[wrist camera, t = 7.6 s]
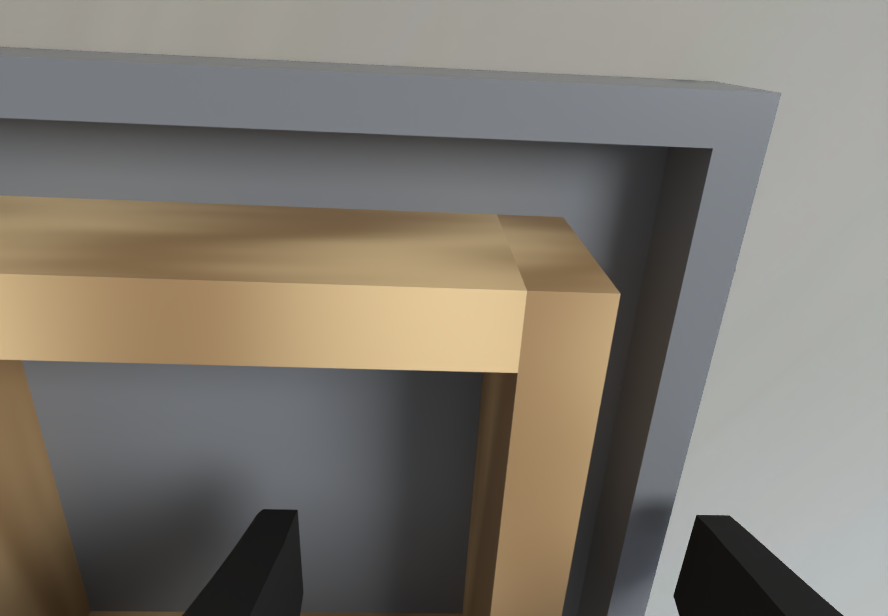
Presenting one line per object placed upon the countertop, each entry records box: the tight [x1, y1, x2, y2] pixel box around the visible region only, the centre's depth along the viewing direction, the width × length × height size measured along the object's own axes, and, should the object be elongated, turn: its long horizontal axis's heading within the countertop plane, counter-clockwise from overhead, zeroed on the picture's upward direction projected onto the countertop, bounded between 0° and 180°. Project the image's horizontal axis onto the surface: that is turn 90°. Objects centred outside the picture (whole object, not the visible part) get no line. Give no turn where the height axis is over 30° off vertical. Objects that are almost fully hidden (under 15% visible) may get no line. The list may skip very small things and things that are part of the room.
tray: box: [0, 47, 781, 616], centre depth 13 cm, size 16×16×2 cm
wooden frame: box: [0, 196, 621, 616], centre depth 11 cm, size 11×11×5 cm
